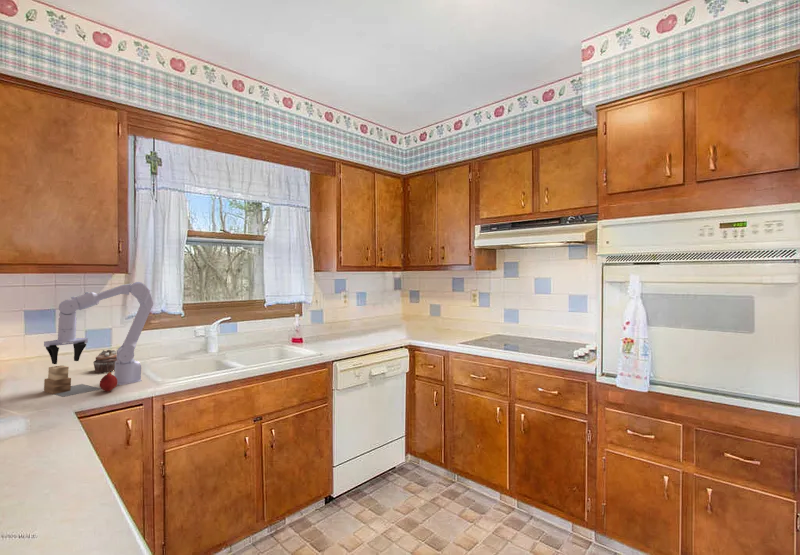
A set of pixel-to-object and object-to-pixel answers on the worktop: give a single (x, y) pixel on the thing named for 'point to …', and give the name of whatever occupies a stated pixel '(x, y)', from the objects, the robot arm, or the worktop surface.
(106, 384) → the red round fruit
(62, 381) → the tower top
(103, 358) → the cupcake
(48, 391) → the tower base
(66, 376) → the cube
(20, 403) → the worktop surface
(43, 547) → the worktop surface
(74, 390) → the mat
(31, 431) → the worktop surface
